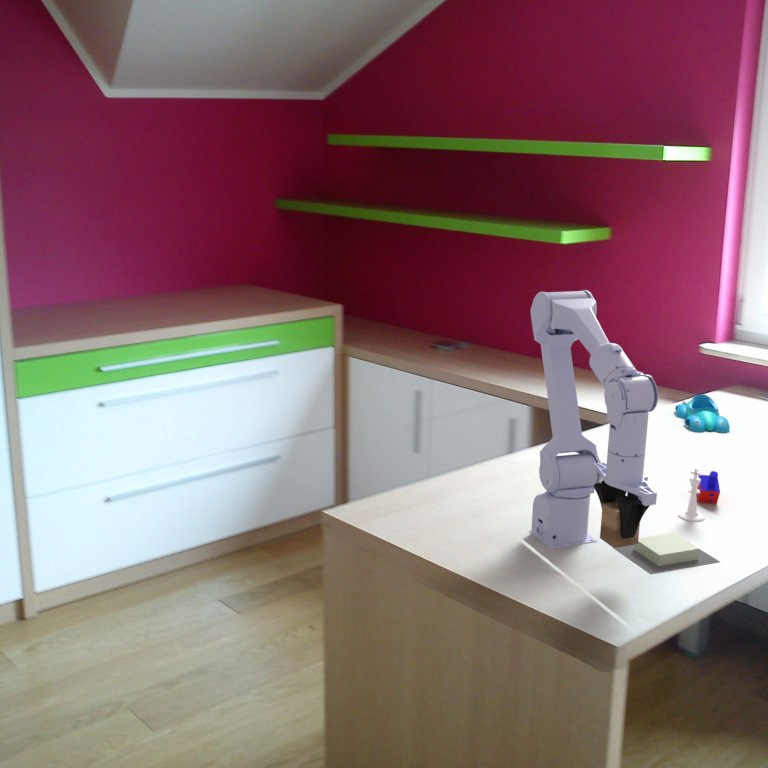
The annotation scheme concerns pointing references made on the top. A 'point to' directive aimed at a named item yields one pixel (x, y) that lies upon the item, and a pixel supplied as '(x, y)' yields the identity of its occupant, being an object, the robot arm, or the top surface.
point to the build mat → (653, 568)
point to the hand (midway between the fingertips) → (619, 531)
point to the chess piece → (693, 501)
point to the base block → (666, 549)
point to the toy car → (702, 415)
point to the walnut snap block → (614, 527)
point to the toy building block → (708, 488)
